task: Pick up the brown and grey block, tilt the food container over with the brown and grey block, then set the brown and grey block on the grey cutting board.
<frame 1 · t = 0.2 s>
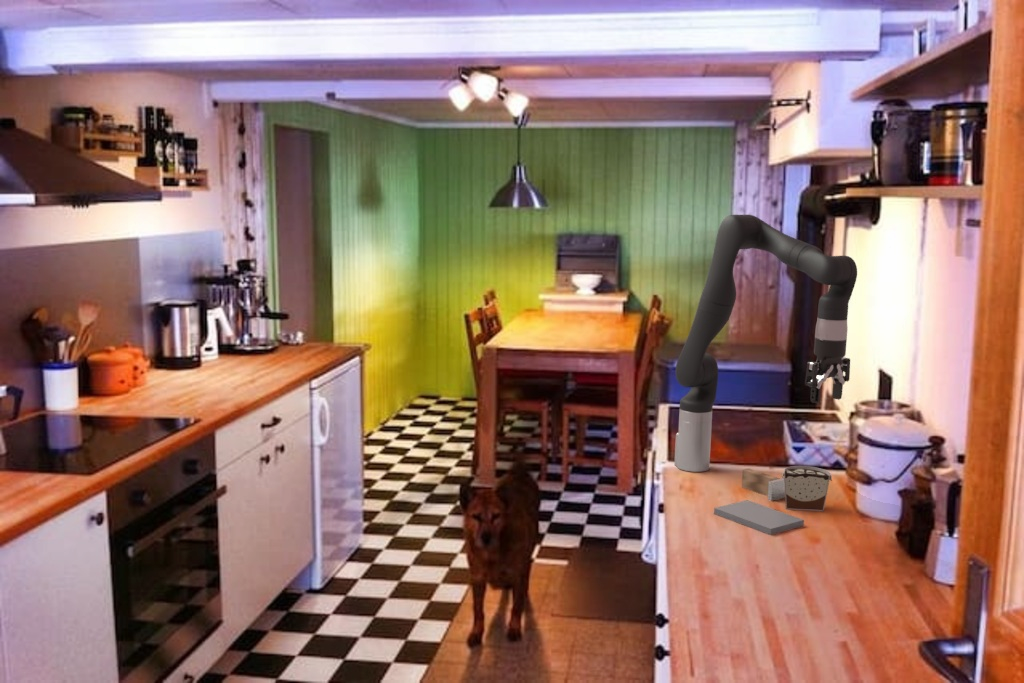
hand: (825, 400, 257), 28 cm above the counter, fingers open, 8 cm apart
grey cutting board: (758, 519, 253), on the counter
brown and grey block: (760, 492, 275), on the counter
food container: (802, 507, 264), on the counter
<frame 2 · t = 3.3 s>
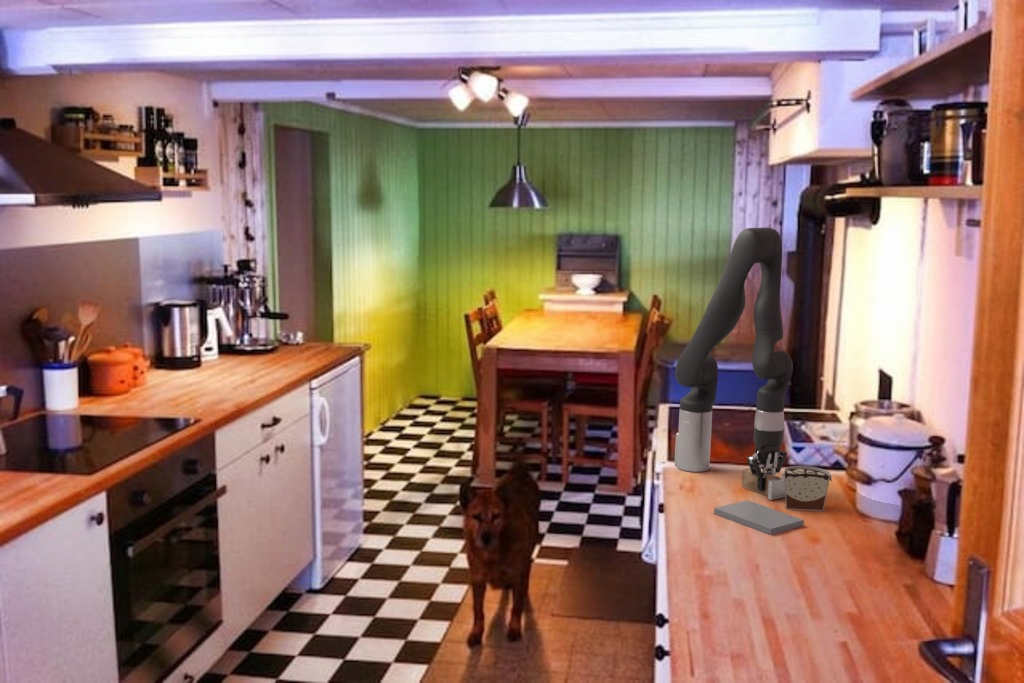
hand: (765, 489, 274), 1 cm above the counter, fingers closed on brown and grey block
brown and grey block: (760, 491, 275), on the counter, touching gripper
everything else where it was.
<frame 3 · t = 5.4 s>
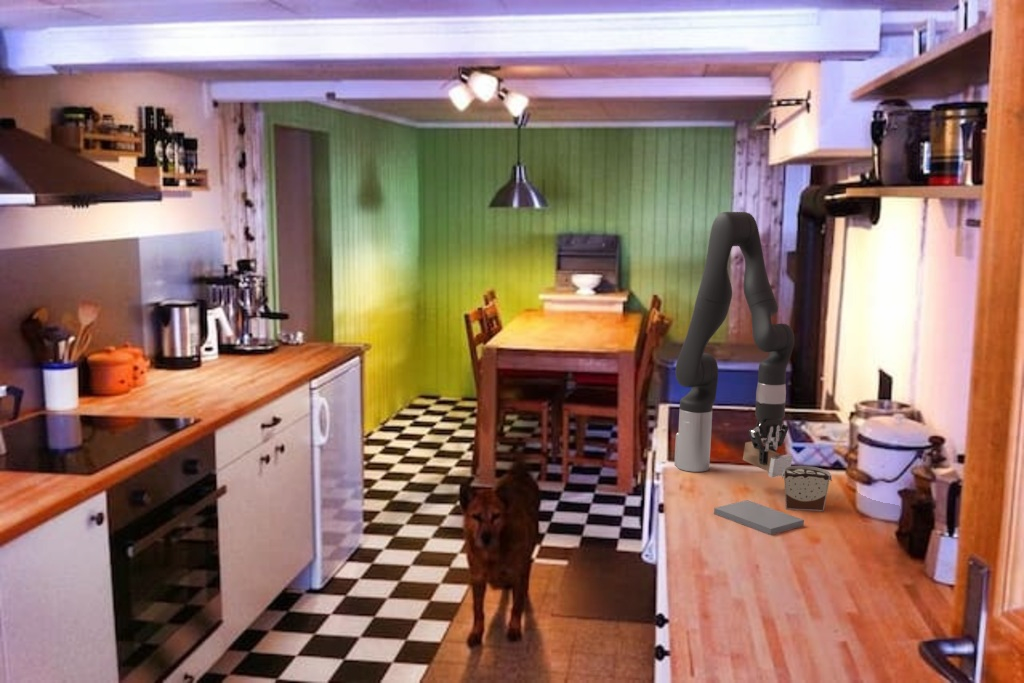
hand: (766, 463, 273), 8 cm above the counter, fingers closed on brown and grey block
brown and grey block: (761, 466, 275), point 7 cm above the counter, tilted 7°, touching gripper
everything else where it was.
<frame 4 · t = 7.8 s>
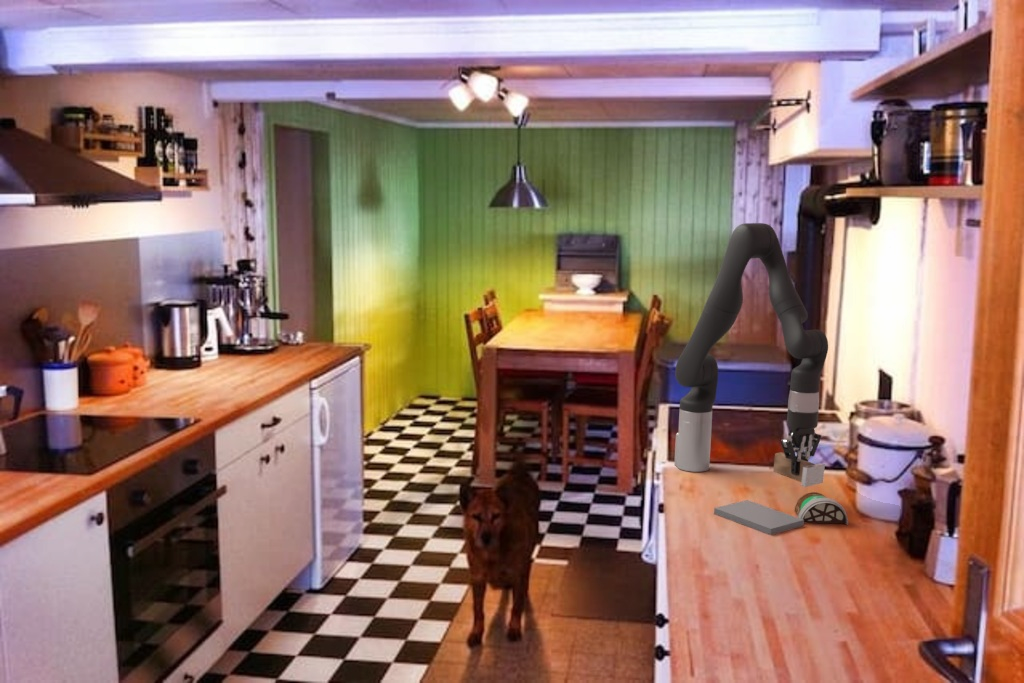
hand: (798, 473, 264), 8 cm above the counter, fingers closed on brown and grey block
brown and grey block: (792, 477, 266), point 7 cm above the counter, touching gripper
food container: (813, 499, 260), point 3 cm above the counter
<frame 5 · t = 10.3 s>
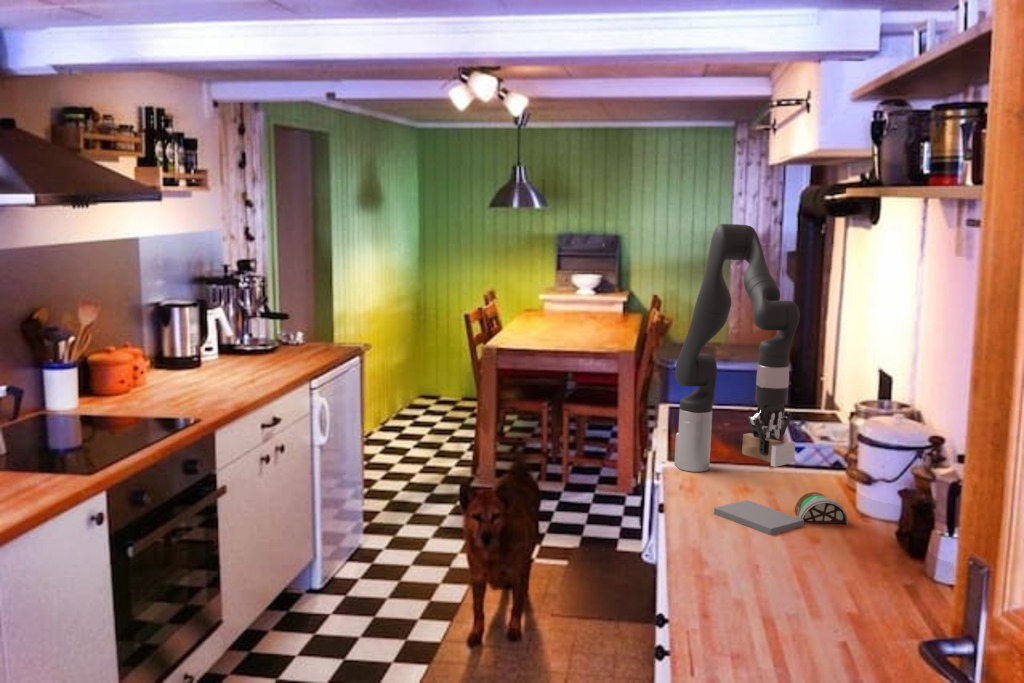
hand: (767, 453, 249), 17 cm above the counter, fingers closed on brown and grey block
brown and grey block: (762, 458, 251), point 16 cm above the counter, touching gripper
everything else where it was.
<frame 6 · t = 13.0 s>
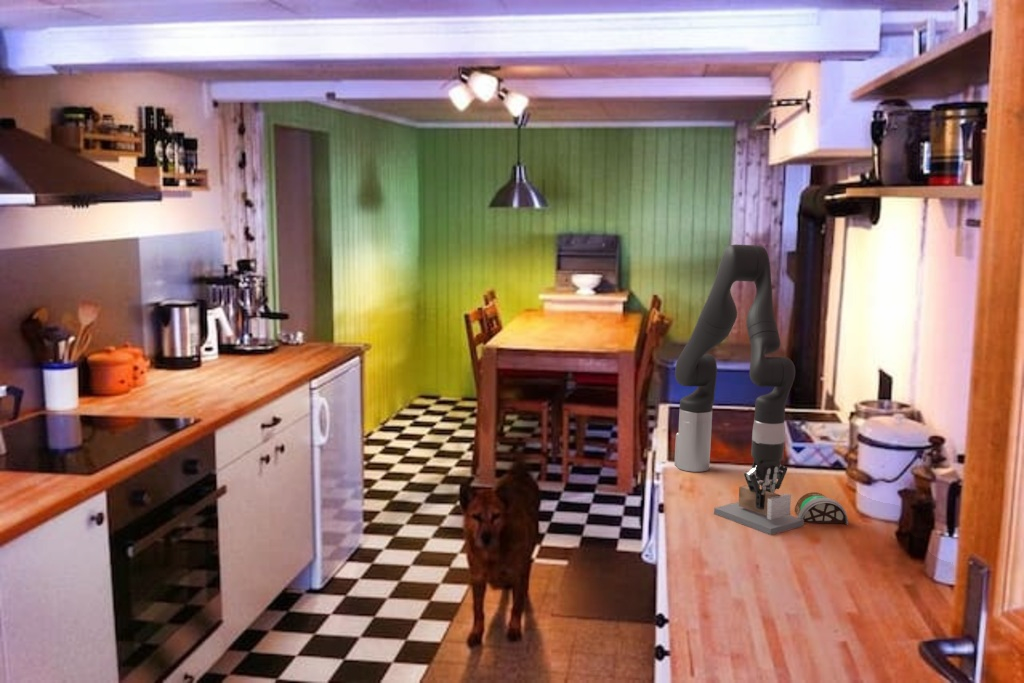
hand: (763, 507, 251), 4 cm above the counter, fingers closed on brown and grey block
brown and grey block: (759, 510, 253), point 2 cm above the counter, touching gripper
everything else where it was.
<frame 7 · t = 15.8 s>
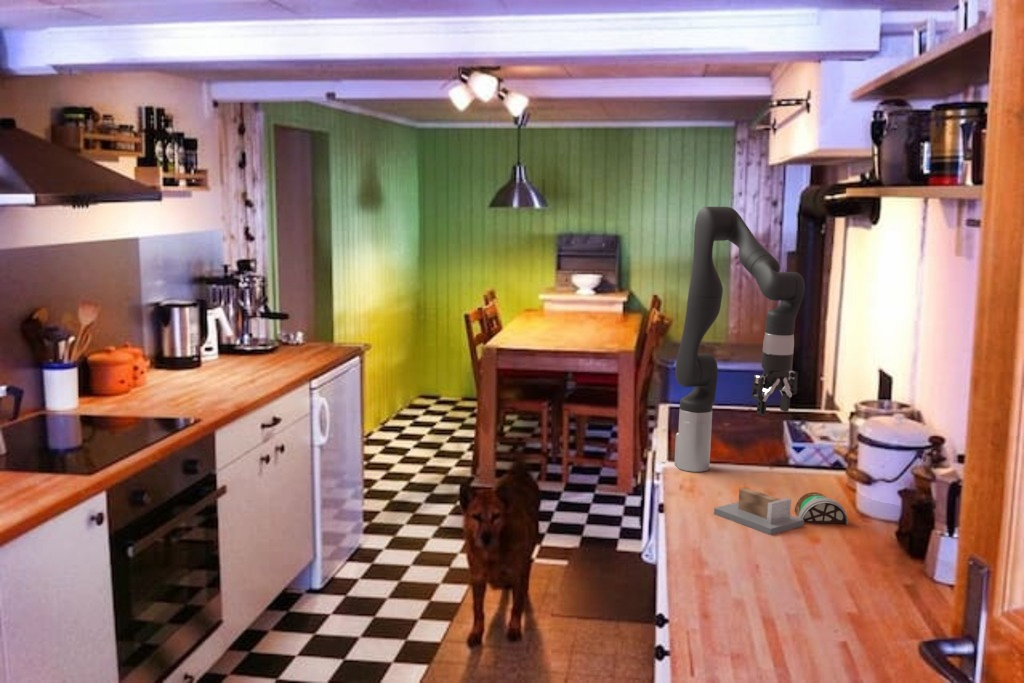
hand: (772, 413, 263), 24 cm above the counter, fingers open, 8 cm apart
brown and grey block: (758, 513, 253), point 1 cm above the counter, touching grey cutting board
everything else where it was.
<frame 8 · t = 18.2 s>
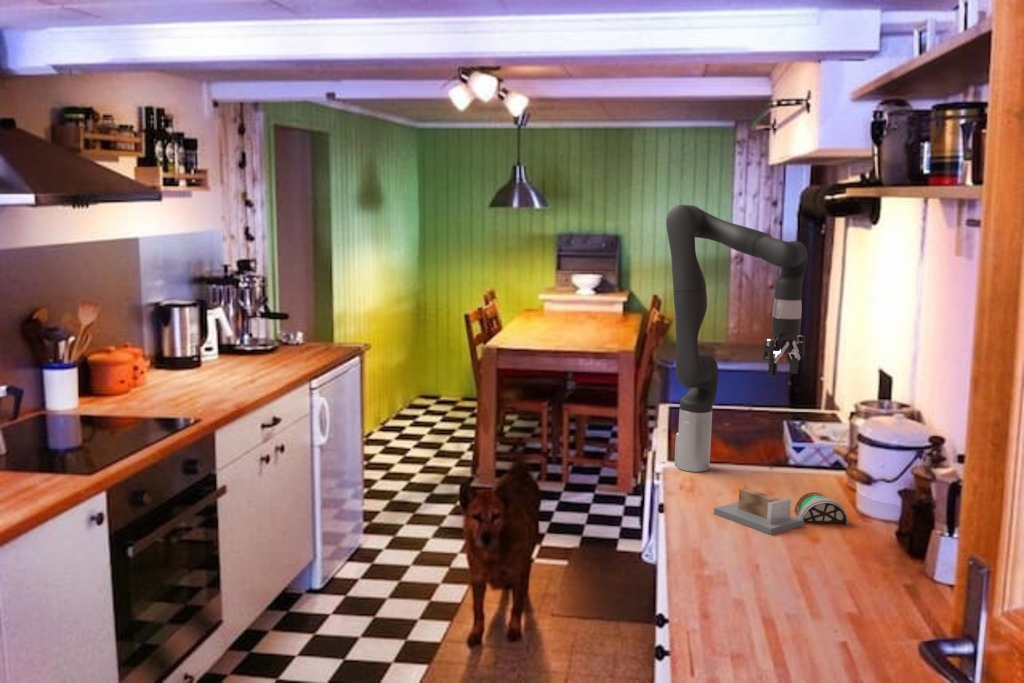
hand: (783, 374, 280), 30 cm above the counter, fingers open, 8 cm apart
nothing on the counter moved.
at the end: food container tilted 90°; brown and grey block inside the target area on the grey cutting board (0.1 cm from its centre), point 1.5 cm above the grey cutting board's base; the gripper is holding nothing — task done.
